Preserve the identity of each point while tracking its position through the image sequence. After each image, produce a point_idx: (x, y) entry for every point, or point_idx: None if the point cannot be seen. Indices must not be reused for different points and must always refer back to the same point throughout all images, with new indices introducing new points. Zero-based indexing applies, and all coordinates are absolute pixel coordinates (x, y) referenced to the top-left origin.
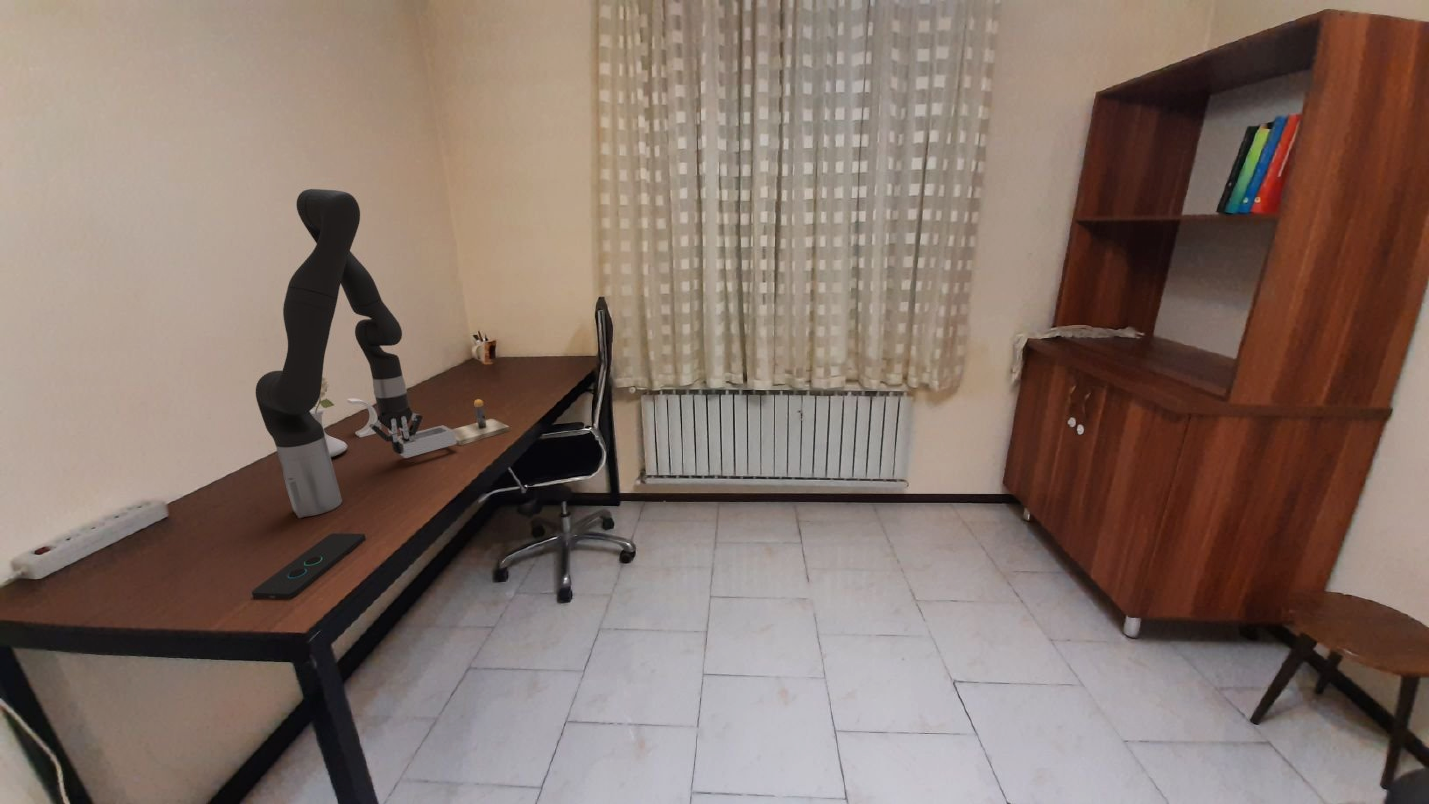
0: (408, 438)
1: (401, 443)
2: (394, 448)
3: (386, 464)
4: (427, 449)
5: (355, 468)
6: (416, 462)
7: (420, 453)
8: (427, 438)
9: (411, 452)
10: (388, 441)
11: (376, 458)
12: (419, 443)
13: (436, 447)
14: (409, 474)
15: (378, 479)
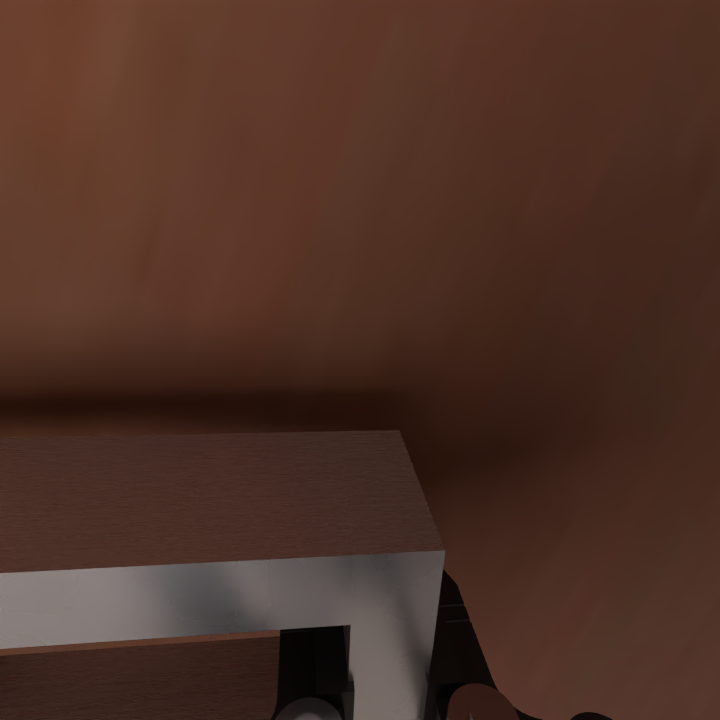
0: (291, 705)
1: (430, 612)
2: (467, 614)
3: (453, 566)
4: (130, 451)
5: (601, 633)
6: None
7: (230, 436)
8: (23, 567)
9: (329, 458)
10: (587, 716)
11: None
12: (193, 522)
13: (9, 451)
14: (443, 197)
15: (642, 319)
